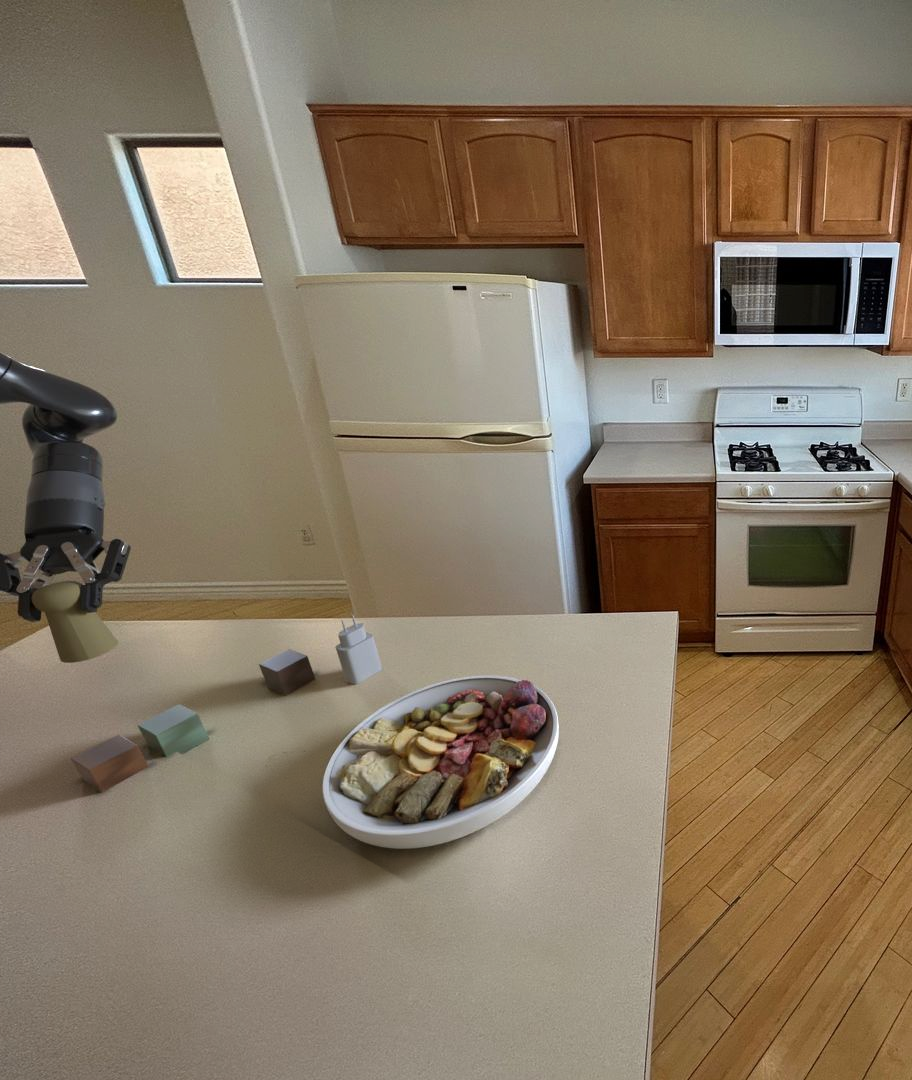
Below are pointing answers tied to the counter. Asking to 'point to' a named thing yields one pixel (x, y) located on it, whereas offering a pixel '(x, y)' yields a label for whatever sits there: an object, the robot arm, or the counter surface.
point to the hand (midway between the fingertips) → (60, 614)
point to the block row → (177, 728)
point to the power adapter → (357, 653)
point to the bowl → (441, 761)
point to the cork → (73, 623)
